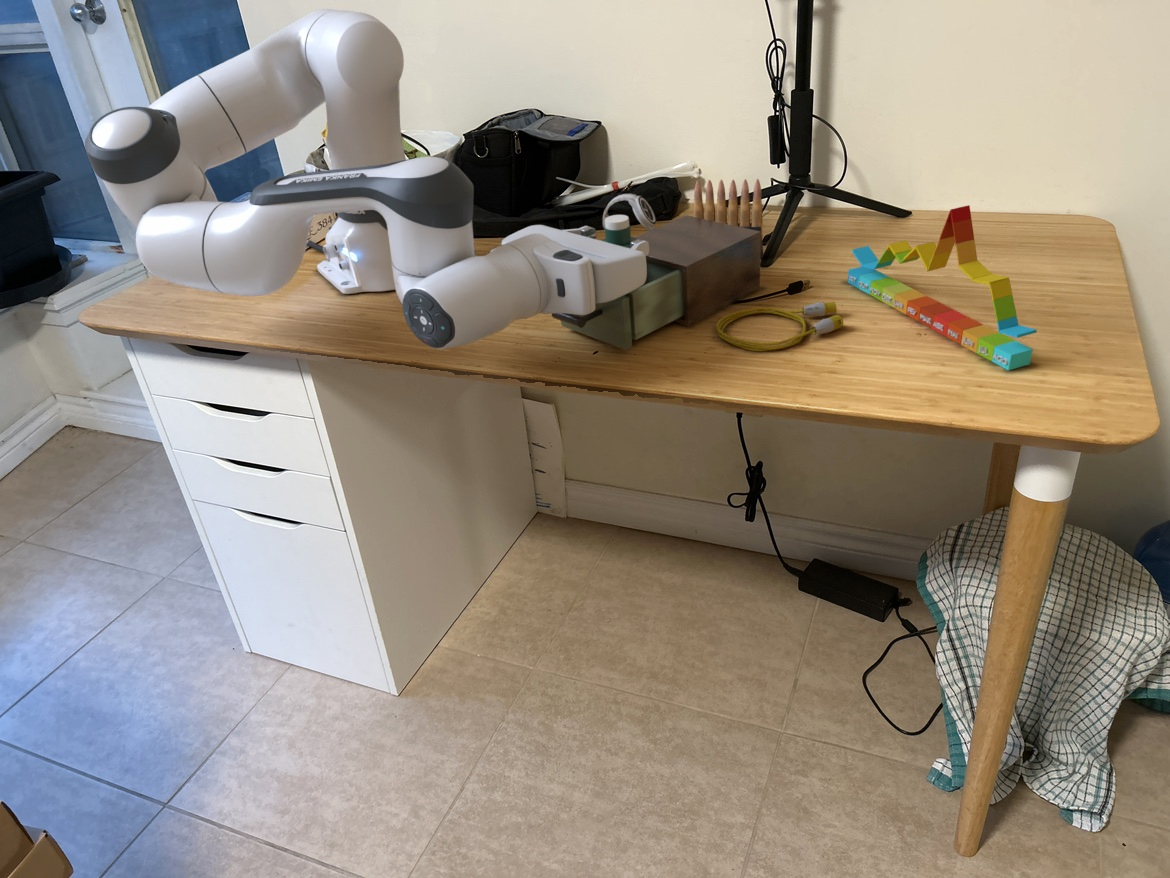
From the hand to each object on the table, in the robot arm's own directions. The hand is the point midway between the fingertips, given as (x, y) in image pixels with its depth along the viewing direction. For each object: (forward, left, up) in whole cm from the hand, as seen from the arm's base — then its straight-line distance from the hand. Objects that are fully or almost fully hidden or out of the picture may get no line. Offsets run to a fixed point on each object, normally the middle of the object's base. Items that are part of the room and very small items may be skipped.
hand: (617, 239), depth 107 cm
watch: (-15, +17, -13) cm, 26 cm away
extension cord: (+17, +11, -13) cm, 24 cm away
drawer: (0, -1, -11) cm, 11 cm away
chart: (+30, +25, -13) cm, 41 cm away
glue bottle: (0, 0, -10) cm, 10 cm away
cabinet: (0, +13, -12) cm, 18 cm away
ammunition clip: (-5, +28, -13) cm, 31 cm away
